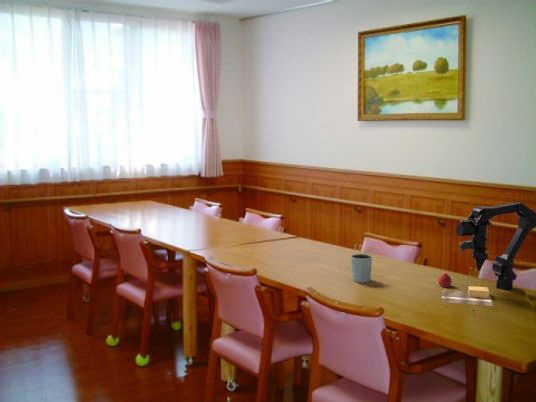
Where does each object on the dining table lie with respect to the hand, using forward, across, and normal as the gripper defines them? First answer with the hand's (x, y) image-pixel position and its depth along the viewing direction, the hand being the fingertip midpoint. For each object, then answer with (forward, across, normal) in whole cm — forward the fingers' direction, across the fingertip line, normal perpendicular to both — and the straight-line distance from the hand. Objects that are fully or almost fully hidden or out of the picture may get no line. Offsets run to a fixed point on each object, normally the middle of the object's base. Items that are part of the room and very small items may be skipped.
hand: (478, 269), depth 262 cm
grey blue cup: (+11, -7, -53) cm, 55 cm away
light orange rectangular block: (+10, +8, 0) cm, 12 cm away
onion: (+11, -3, -14) cm, 18 cm away
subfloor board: (+11, +13, -5) cm, 18 cm away
